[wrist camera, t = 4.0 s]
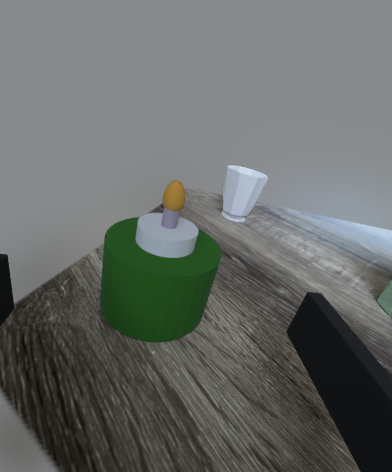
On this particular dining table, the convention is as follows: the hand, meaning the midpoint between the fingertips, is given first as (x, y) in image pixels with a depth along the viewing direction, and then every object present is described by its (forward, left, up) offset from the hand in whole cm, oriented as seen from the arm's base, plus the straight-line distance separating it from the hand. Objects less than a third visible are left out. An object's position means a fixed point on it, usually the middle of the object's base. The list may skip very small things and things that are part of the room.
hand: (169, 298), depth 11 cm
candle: (-1, +7, -7) cm, 10 cm away
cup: (+7, +33, -7) cm, 34 cm away
